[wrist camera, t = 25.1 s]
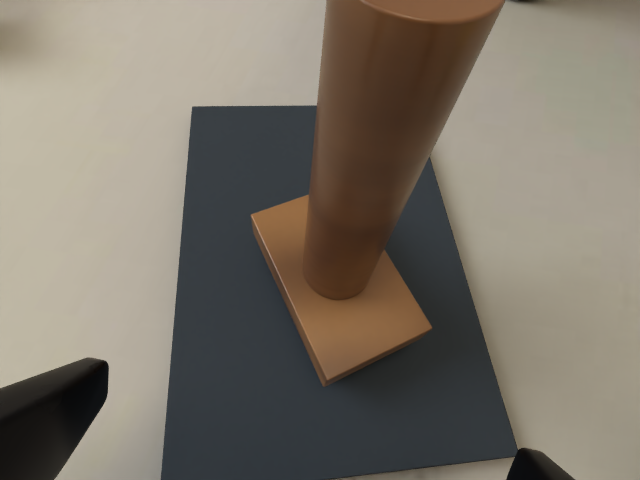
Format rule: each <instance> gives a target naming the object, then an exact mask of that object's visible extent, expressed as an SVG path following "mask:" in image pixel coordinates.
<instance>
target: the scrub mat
mask: <svg viewBox="0 0 640 480" xmlns="http://www.w3.org/2000/svg"><path fill="white" fill-rule="evenodd" d="M316 111H317V106H206V107H192V115H191V127H190V139H189V151H188V163H187V175H186V186H185V198H184V210H183V222H182V234H181V246H180V258H179V270H178V282H177V294H176V305H175V317H174V329H173V341H172V353H171V365H170V377H169V389H168V401H167V413H166V424H165V436H164V448H163V460H162V472H161V480H329V479H337V478H345V477H353V476H361V475H370V474H378V473H386V472H394V471H402V470H411V469H419V468H427V467H435V466H443V465H452V464H460V463H468V462H476V461H484V460H493V459H501V458H509V457H515V456H516V453H517V451H518V449H517V446H516V442H515V439H514V436H513V432H512V429H511V426H510V422H509V419H508V416H507V412H506V409H505V406H504V402H503V399H502V396H501V392H500V389H499V386H498V382H497V379H496V376H495V373H494V369H493V366H492V363H491V359H490V356H489V353H488V349H487V346H486V343H485V339H484V336H483V333H482V329H481V326H480V323H479V319H478V316H477V313H476V309H475V306H474V303H473V300H472V296H471V293H470V290H469V286H468V283H467V280H466V276H465V273H464V270H463V266H462V263H461V260H460V256H459V253H458V250H457V246H456V243H455V240H454V236H453V233H452V230H451V226H450V223H449V220H448V217H447V213H446V210H445V207H444V203H443V200H442V197H441V193H440V190H439V187H438V183H437V180H436V177H435V173H434V170H433V167H432V163H431V160H430V157H429V158H428V160H427V162H426V164H425V167H424V169H423V171H422V173H421V175H420V177H419V179H418V181H417V183H416V185H415V187H414V189H413V191H412V193H411V195H410V197H409V199H408V201H407V203H406V205H405V208H404V210H403V212H402V214H401V216H400V218H399V220H398V222H397V224H396V226H395V228H394V230H393V232H392V234H391V236H390V238H389V240H388V242H387V244H386V246H385V248H384V250H385V251H386V253H387V254H388V256H389V258H390V259H391V261H392V263H393V264H394V266H395V268H396V269H397V271H398V272H399V274H400V276H401V277H402V279H403V281H404V282H405V284H406V285H407V287H408V289H409V290H410V292H411V294H412V295H413V297H414V298H415V300H416V302H417V303H418V305H419V307H420V308H421V310H422V312H423V313H424V315H425V316H426V318H427V320H428V321H429V323H430V325H431V326H432V330H430V331H429V332H428V333H427V334H426V335H424V336H423V337H422V338H421V339H419V340H417V341H415V342H413V343H411V344H409V345H407V346H405V347H403V348H401V349H399V350H397V351H395V352H393V353H391V354H389V355H387V356H385V357H383V358H381V359H379V360H377V361H375V362H373V363H371V364H369V365H367V366H365V367H364V368H362V369H360V370H358V371H356V372H354V373H352V374H350V375H348V376H346V377H344V378H342V379H340V380H338V381H336V382H334V383H332V384H330V385H328V386H326V387H323V385H322V383H321V381H320V379H319V377H318V374H317V372H316V370H315V368H314V366H313V363H312V361H311V359H310V357H309V355H308V352H307V350H306V348H305V346H304V344H303V341H302V339H301V337H300V335H299V333H298V330H297V328H296V326H295V324H294V321H293V319H292V317H291V315H290V313H289V310H288V308H287V306H286V304H285V302H284V299H283V297H282V295H281V293H280V291H279V288H278V286H277V284H276V282H275V280H274V277H273V275H272V273H271V271H270V269H269V266H268V264H267V262H266V260H265V258H264V255H263V253H262V251H261V249H260V246H259V244H258V242H257V240H256V238H255V235H254V233H253V227H252V220H251V214H254V213H257V212H260V211H263V210H266V209H268V208H271V207H274V206H277V205H280V204H283V203H286V202H289V201H292V200H294V199H297V198H300V197H303V196H306V195H309V188H310V177H311V166H312V155H313V144H314V133H315V122H316Z"/></svg>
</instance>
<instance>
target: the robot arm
mask: <svg viewBox="0 0 640 480" xmlns="http://www.w3.org/2000/svg"><path fill="white" fill-rule="evenodd" d="M108 372H109V366H108V363H107V362H106V361H104V360H100V359H95V358H85V359H82V360H79V361H76V362H73V363H71V364H68V365H65V366H62V367H59V368H56V369H54V370H51V371H48V372H45V373H42V374H40V375H37V376H34V377H31V378H28V379H26V380H23V381H20V382H17V383H14V384H11V385H9V386H6V387H3V388H0V480H54V479H55V478H56V476H57V475H58V474H59V472H60V471H61V469H62V468H63V466H64V465H65V463H66V462H67V461H68V459H69V457H70V456H71V454H72V453H73V451H74V450H75V448H76V447H77V445H78V443H79V442H80V440H81V439H82V437H83V436H84V434H85V433H86V431H87V429H88V428H89V426H90V425H91V423H92V422H93V420H94V419H95V417H96V415H97V414H98V412H99V411H100V409H101V408H102V406H103V404H104V402H105V400H106V398H107V393H108ZM507 480H575V479H574V478H572V477H571V476H570V475H569V474H568V473H566V472H565V471H564V470H563V469H562V468H560V467H559V466H558V465H557V464H556V463H555V462H553V461H552V460H551V459H550V458H549V457H547V456H546V455H545V454H544V453H542V452H540V451H537V450H532V449H527V448H521V449H519V450H518V451H517V453H516V456H515V458H514V461H513V463H512V466H511V468H510V471H509V473H508V476H507Z"/></svg>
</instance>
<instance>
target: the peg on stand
mask: <svg viewBox="0 0 640 480" xmlns="http://www.w3.org/2000/svg"><path fill="white" fill-rule="evenodd" d="M504 3H505V0H327V1H326V12H325V23H324V34H323V45H322V56H321V67H320V78H319V89H318V100H317V111H316V122H315V133H314V144H313V155H312V166H311V177H310V188H309V195H306V196H303V197H300V198H297V199H294V200H292V201H289V202H286V203H283V204H280V205H277V206H274V207H271V208H268V209H266V210H263V211H260V212H257V213H254V214H251V220H252V227H253V233H254V235H255V238H256V240H257V242H258V244H259V246H260V249H261V251H262V253H263V255H264V258H265V260H266V262H267V264H268V266H269V269H270V271H271V273H272V275H273V277H274V280H275V282H276V284H277V286H278V288H279V291H280V293H281V295H282V297H283V299H284V302H285V304H286V306H287V308H288V310H289V313H290V315H291V317H292V319H293V321H294V324H295V326H296V328H297V330H298V333H299V335H300V337H301V339H302V341H303V344H304V346H305V348H306V350H307V352H308V355H309V357H310V359H311V361H312V363H313V366H314V368H315V370H316V372H317V374H318V377H319V379H320V381H321V383H322V385H323V387H326V386H328V385H330V384H332V383H334V382H336V381H338V380H340V379H342V378H344V377H346V376H348V375H350V374H352V373H354V372H356V371H358V370H360V369H362V368H364V367H365V366H367V365H369V364H371V363H373V362H375V361H377V360H379V359H381V358H383V357H385V356H387V355H389V354H391V353H393V352H395V351H397V350H399V349H401V348H403V347H405V346H407V345H409V344H411V343H413V342H415V341H417V340H419V339H421V338H422V337H423V336H424V335H426V334H427V333H428V332H429V331H430V330H432V326H431V325H430V323H429V321H428V320H427V318H426V316H425V315H424V313H423V312H422V310H421V308H420V307H419V305H418V303H417V302H416V300H415V298H414V297H413V295H412V294H411V292H410V290H409V289H408V287H407V285H406V284H405V282H404V281H403V279H402V277H401V276H400V274H399V272H398V271H397V269H396V268H395V266H394V264H393V263H392V261H391V259H390V258H389V256H388V254H387V253H386V251H385V250H384V248H385V246H386V244H387V242H388V240H389V238H390V236H391V234H392V232H393V230H394V228H395V226H396V224H397V222H398V220H399V218H400V216H401V214H402V212H403V210H404V208H405V205H406V203H407V201H408V199H409V197H410V195H411V193H412V191H413V189H414V187H415V185H416V183H417V181H418V179H419V177H420V175H421V173H422V171H423V169H424V167H425V164H426V162H427V160H428V158H429V156H430V154H431V152H432V150H433V148H434V146H435V144H436V142H437V140H438V138H439V136H440V134H441V132H442V130H443V128H444V126H445V124H446V121H447V119H448V117H449V115H450V113H451V111H452V109H453V107H454V105H455V103H456V101H457V99H458V97H459V95H460V93H461V91H462V89H463V87H464V85H465V83H466V80H467V78H468V76H469V74H470V72H471V70H472V68H473V66H474V64H475V62H476V60H477V58H478V56H479V54H480V52H481V50H482V48H483V46H484V44H485V42H486V40H487V37H488V35H489V33H490V31H491V29H492V27H493V25H494V23H495V21H496V19H497V17H498V15H499V13H500V11H501V9H502V7H503V5H504Z"/></svg>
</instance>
